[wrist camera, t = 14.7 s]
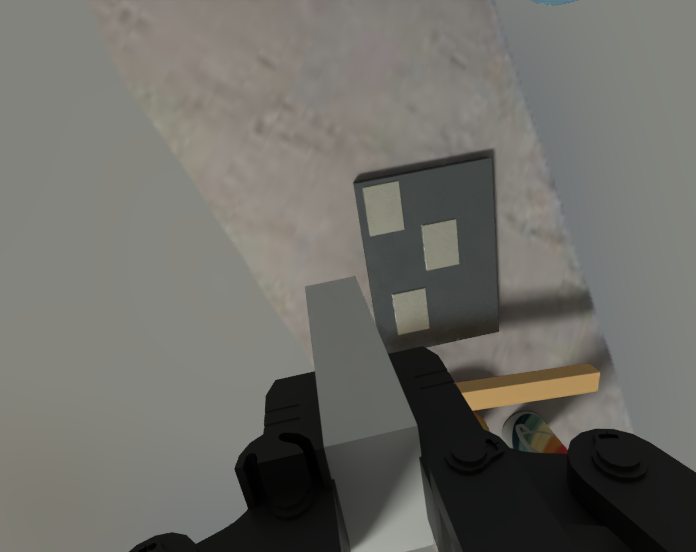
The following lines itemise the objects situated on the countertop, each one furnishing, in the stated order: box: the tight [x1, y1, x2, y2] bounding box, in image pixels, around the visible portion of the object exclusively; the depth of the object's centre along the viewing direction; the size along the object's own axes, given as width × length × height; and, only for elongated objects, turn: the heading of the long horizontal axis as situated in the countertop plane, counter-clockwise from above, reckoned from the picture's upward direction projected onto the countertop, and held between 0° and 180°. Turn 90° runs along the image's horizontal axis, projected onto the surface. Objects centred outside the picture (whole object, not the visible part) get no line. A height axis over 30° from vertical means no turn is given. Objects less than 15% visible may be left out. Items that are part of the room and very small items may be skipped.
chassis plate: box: [353, 157, 499, 354], centre depth 48 cm, size 20×14×1 cm
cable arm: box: [455, 363, 600, 411], centre depth 47 cm, size 24×4×2 cm, turn 95°
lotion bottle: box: [502, 411, 568, 454], centre depth 50 cm, size 6×6×20 cm
